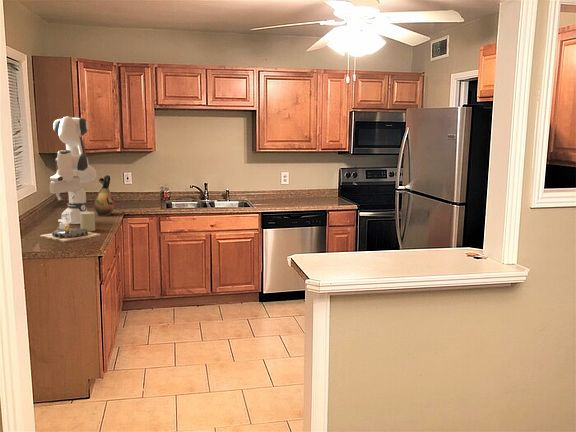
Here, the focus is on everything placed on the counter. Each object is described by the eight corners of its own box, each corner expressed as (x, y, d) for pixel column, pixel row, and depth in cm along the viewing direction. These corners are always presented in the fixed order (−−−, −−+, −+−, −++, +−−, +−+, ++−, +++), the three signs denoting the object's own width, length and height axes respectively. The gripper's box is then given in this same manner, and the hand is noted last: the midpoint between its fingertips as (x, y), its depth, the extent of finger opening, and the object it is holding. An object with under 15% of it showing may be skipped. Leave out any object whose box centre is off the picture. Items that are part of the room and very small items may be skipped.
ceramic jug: (108, 217, 401) (107, 176, 396) (90, 215, 404) (88, 175, 399) (120, 213, 417) (119, 174, 412) (102, 212, 420) (100, 174, 415)
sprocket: (47, 237, 321) (47, 226, 319) (57, 230, 340) (57, 220, 339) (83, 237, 323) (83, 226, 322) (91, 231, 343) (90, 220, 342)
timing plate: (39, 236, 328) (39, 230, 327) (74, 230, 349) (74, 224, 348) (65, 242, 315) (65, 235, 314) (100, 235, 336) (100, 229, 335)
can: (97, 230, 352) (97, 212, 350) (84, 232, 346) (83, 213, 344) (91, 228, 359) (91, 210, 357) (78, 229, 352) (77, 211, 350)
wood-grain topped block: (59, 229, 335) (59, 223, 334) (63, 228, 337) (63, 222, 337) (65, 230, 332) (65, 224, 331) (69, 230, 334) (69, 223, 333)
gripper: (76, 175, 341) (77, 196, 344) (47, 177, 324) (48, 200, 327) (83, 176, 338) (84, 197, 341) (53, 178, 321) (55, 201, 324)
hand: (66, 199), depth 334 cm, fingers open, 8 cm apart
